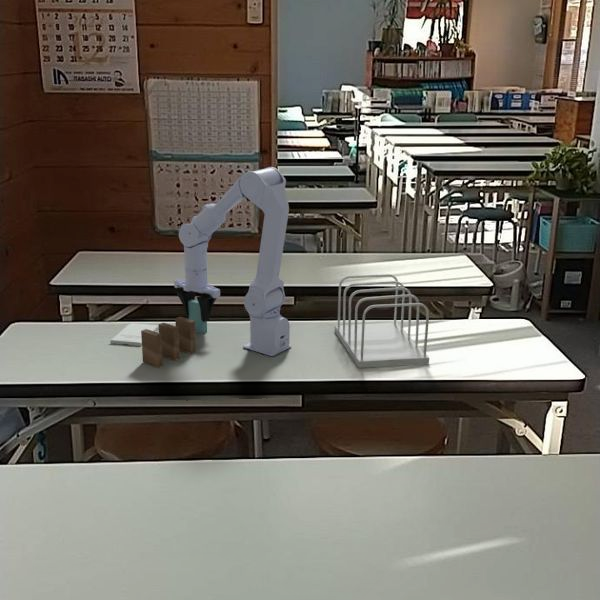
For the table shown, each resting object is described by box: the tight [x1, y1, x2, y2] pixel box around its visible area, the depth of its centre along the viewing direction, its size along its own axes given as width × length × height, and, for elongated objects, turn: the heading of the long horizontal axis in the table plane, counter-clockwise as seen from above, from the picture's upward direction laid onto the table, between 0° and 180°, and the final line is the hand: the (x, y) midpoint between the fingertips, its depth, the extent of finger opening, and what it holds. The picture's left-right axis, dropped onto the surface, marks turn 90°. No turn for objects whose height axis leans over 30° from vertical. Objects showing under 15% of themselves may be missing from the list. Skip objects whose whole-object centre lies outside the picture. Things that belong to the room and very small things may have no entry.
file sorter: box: [333, 273, 430, 368], centre depth 182 cm, size 25×17×16 cm
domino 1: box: [141, 329, 164, 369], centre depth 172 cm, size 2×5×8 cm, turn 54°
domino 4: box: [188, 299, 208, 334], centre depth 193 cm, size 2×5×8 cm, turn 54°
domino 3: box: [174, 316, 197, 354], centre depth 180 cm, size 2×5×8 cm, turn 54°
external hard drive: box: [110, 322, 159, 347], centre depth 190 cm, size 2×8×12 cm
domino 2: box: [158, 322, 181, 361], centre depth 176 cm, size 2×5×8 cm, turn 54°
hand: (197, 318), depth 193 cm, fingers closed on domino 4, 5 cm apart
